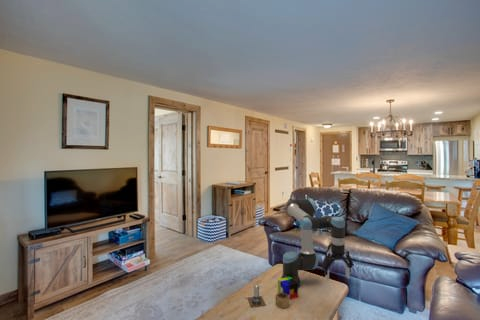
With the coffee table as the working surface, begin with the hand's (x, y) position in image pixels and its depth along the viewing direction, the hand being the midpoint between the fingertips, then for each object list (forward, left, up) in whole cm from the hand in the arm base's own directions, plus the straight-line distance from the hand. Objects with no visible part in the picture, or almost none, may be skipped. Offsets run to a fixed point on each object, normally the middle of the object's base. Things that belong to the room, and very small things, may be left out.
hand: (337, 278), depth 148 cm
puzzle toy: (-32, -18, -26) cm, 45 cm away
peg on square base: (-28, -42, -26) cm, 57 cm away
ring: (-22, -26, -26) cm, 43 cm away
